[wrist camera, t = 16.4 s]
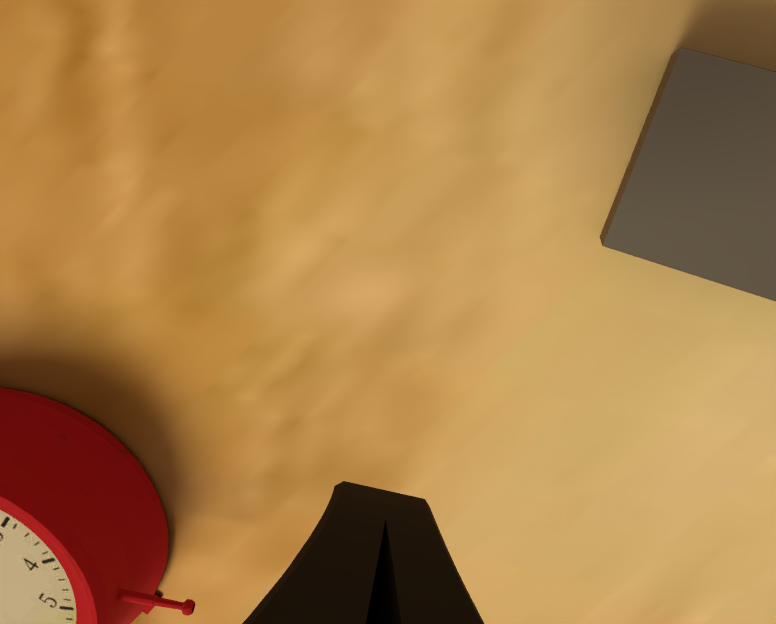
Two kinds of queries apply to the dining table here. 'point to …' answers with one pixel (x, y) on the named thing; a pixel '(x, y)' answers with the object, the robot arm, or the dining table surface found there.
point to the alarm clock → (74, 520)
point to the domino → (704, 176)
